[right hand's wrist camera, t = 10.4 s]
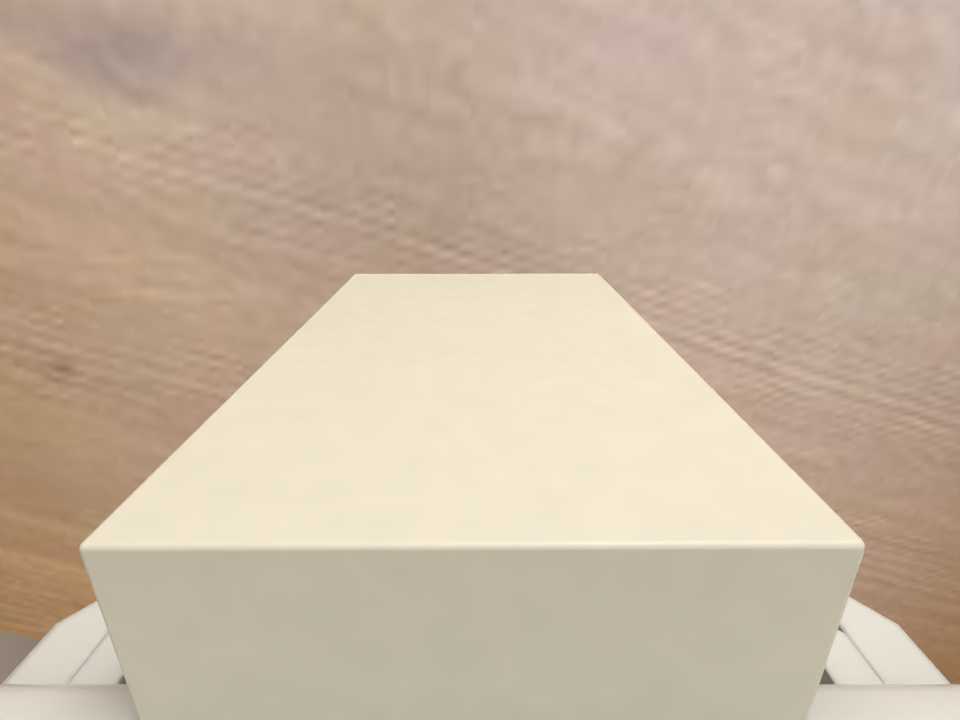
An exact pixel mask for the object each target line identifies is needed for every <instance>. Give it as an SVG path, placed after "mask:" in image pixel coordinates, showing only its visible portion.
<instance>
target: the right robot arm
mask: <svg viewBox="0 0 960 720" xmlns="http://www.w3.org/2000/svg"><path fill="white" fill-rule="evenodd" d="M0 720H139V717H138V714H137V712H136V709H135V706H134V703H133V700H132V698H131V695H130V692H129V689H128V686H127V683H126V681H125V678H124V675H123V672H122V669H121V667H120V664H119V661H118V658H117V655H116V652H115V650H114V647H113V644H112V641H111V638H110V636H109V633H108V630H107V627H106V624H105V622H104V619H103V616H102V613H101V610H100V607H99V605H98V602H97V601H95V602H94V603H92V604H90V605H88V606H87V607H85V608H83V609H81V610H80V611H78V612H76V613H74V614H72V615H71V616H69V617H67V618H65V619H64V620H62V621H60V622H58V623H57V624H55V625H54V627H53V628H52V629H51V630H50V631H49V632H48V633H47V634H46V635H45V636H44V638H43V639H42V640H41V641H40V642H39V643H38V644H37V645H36V646H35V648H34V649H33V650H32V651H31V652H30V653H29V654H28V655H27V656H26V657H25V659H24V660H23V661H22V662H21V663H20V664H19V665H18V666H17V667H16V669H15V670H14V671H13V672H12V673H11V674H10V675H9V676H8V677H7V679H6V680H5V681H4V682H3V683H2V684H0ZM807 720H960V684H950V683H949V682H948V680H947V679H946V678H945V677H944V676H943V675H942V674H941V672H940V671H939V670H938V669H937V668H936V667H935V666H934V665H933V663H932V662H931V661H930V660H929V659H928V658H927V657H926V656H925V654H924V653H923V652H922V651H921V650H920V649H919V648H918V646H917V645H916V644H915V643H914V642H913V641H912V640H911V639H910V637H909V636H908V635H907V634H906V633H905V632H904V631H903V630H902V628H901V627H900V626H899V625H898V624H896V623H894V622H893V621H891V620H889V619H887V618H886V617H884V616H882V615H880V614H879V613H877V612H875V611H873V610H872V609H870V608H868V607H866V606H865V605H863V604H861V603H860V602H858V601H856V600H854V599H853V598H851V597H849V598H848V601H847V604H846V607H845V610H844V613H843V615H842V618H841V621H840V624H839V627H838V630H837V633H836V636H835V639H834V642H833V645H832V648H831V651H830V654H829V657H828V660H827V663H826V666H825V669H824V672H823V675H822V678H821V680H820V683H819V686H818V689H817V692H816V695H815V698H814V701H813V704H812V707H811V710H810V713H809V716H808V719H807Z"/></svg>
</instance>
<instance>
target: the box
mask: <svg viewBox="0 0 960 720" xmlns="http://www.w3.org/2000/svg"><path fill="white" fill-rule="evenodd" d="M864 550H865V544H864V542H863V540H862V539H861V538H860V537H859V536H858V535H857V534H856V533H855V532H854V531H853V530H852V529H851V528H850V527H849V526H848V525H847V524H846V523H845V522H844V521H843V520H842V519H841V518H840V517H839V516H838V515H837V514H836V513H835V512H834V511H833V510H832V509H831V508H830V507H829V506H828V505H827V504H826V503H825V502H824V501H823V500H822V499H821V498H820V497H819V496H818V495H817V494H816V493H815V492H814V491H813V490H812V489H811V488H810V487H809V486H808V485H807V484H806V483H805V482H804V481H803V480H802V479H801V478H800V477H799V476H798V475H797V474H796V473H795V472H794V471H793V470H792V469H791V468H790V467H789V466H788V465H787V464H786V463H785V462H784V461H783V460H782V459H781V458H780V457H779V456H778V455H777V454H776V453H775V452H774V451H773V450H772V449H771V448H770V447H769V446H768V445H767V444H766V443H765V442H764V441H763V440H762V438H761V437H760V436H759V435H758V434H757V433H756V432H755V431H754V430H753V429H752V428H751V427H750V426H749V425H748V424H747V423H746V422H745V421H744V420H743V419H742V418H741V417H740V416H739V415H738V414H737V413H736V412H735V411H734V410H733V409H732V408H731V407H730V406H729V405H728V404H727V403H726V402H725V401H724V400H723V399H722V398H721V397H720V396H719V395H718V394H717V393H716V392H715V391H714V390H713V389H712V388H711V387H710V386H709V385H708V384H707V383H706V382H705V381H704V380H703V379H702V378H701V377H700V376H699V375H698V374H697V373H696V372H695V371H694V370H693V369H692V368H691V367H690V366H689V365H688V364H687V363H686V362H685V361H684V360H683V359H682V358H681V357H680V356H679V355H678V354H677V353H676V352H675V351H674V350H673V349H672V348H671V347H670V346H669V345H668V344H667V343H666V342H665V341H664V340H663V339H662V338H661V337H660V336H659V335H658V334H657V333H656V332H655V331H654V330H653V329H652V328H651V327H650V326H649V325H648V324H647V323H646V322H645V320H644V319H643V318H642V317H641V316H640V315H639V314H638V313H637V312H636V311H635V310H634V309H633V308H632V307H631V306H630V305H629V304H628V303H627V302H626V301H625V300H624V299H623V298H622V297H621V296H620V295H619V294H618V293H617V292H616V291H615V290H614V289H613V288H612V287H611V286H610V285H609V284H608V283H607V282H606V281H605V280H604V279H603V278H602V277H601V276H600V275H599V274H355V275H354V276H353V277H352V278H351V279H350V280H349V281H348V282H347V283H346V284H345V285H344V286H343V287H342V288H341V289H340V290H338V291H337V292H336V293H335V294H334V295H333V296H332V297H331V298H330V299H329V300H328V301H327V302H326V303H325V304H324V305H323V306H322V307H321V308H320V309H319V310H318V311H317V312H316V313H315V314H314V315H313V316H312V317H311V318H310V319H309V320H308V321H307V322H306V323H305V324H304V325H303V326H302V327H301V328H300V329H299V330H298V331H297V332H296V333H295V334H294V335H293V336H292V337H291V338H290V339H289V340H288V341H287V342H286V343H285V344H284V345H283V346H282V347H280V348H279V349H278V350H277V351H276V352H275V353H274V354H273V355H272V356H271V357H270V358H269V359H268V360H267V361H266V362H265V363H264V364H263V365H262V366H261V367H260V368H259V369H258V370H257V371H256V372H255V373H254V374H253V375H252V376H251V377H250V378H249V379H248V380H247V381H246V382H245V383H244V384H243V385H242V386H241V387H240V388H239V389H238V390H237V391H236V392H235V393H234V394H233V395H232V396H231V397H230V398H229V399H228V400H227V401H226V402H225V403H224V404H222V405H221V406H220V407H219V408H218V409H217V410H216V411H215V412H214V413H213V414H212V415H211V416H210V417H209V418H208V419H207V420H206V421H205V422H204V423H203V424H202V425H201V426H200V427H199V428H198V429H197V430H196V431H195V432H194V433H193V434H192V435H191V436H190V437H189V438H188V439H187V440H186V441H185V442H184V443H183V444H182V445H181V446H180V447H179V448H178V449H177V450H176V451H175V452H174V453H173V454H172V455H171V456H170V457H169V458H168V459H167V460H166V461H164V462H163V463H162V464H161V465H160V466H159V467H158V468H157V469H156V470H155V471H154V472H153V473H152V474H151V475H150V476H149V477H148V478H147V479H146V480H145V481H144V482H143V483H142V484H141V485H140V486H139V487H138V488H137V489H136V490H135V491H134V492H133V493H132V494H131V495H130V496H129V497H128V498H127V499H126V500H125V501H124V502H123V503H122V504H121V505H120V506H119V507H118V508H117V509H116V510H115V511H114V512H113V513H112V514H111V515H110V516H109V517H108V518H107V519H105V520H104V521H103V522H102V523H101V524H100V525H99V526H98V527H97V528H96V529H95V530H94V531H93V532H92V533H91V534H90V535H89V536H88V537H87V538H86V539H85V540H84V541H83V542H82V543H81V545H80V550H79V551H80V554H81V557H82V560H83V562H84V565H85V568H86V571H87V574H88V577H89V579H90V582H91V585H92V588H93V591H94V593H95V596H96V599H97V602H98V605H99V607H100V610H101V613H102V616H103V619H104V622H105V624H106V627H107V630H108V633H109V636H110V638H111V641H112V644H113V647H114V650H115V652H116V655H117V658H118V661H119V664H120V667H121V669H122V672H123V675H124V678H125V681H126V683H127V686H128V689H129V692H130V695H131V698H132V700H133V703H134V706H135V709H136V712H137V714H138V717H139V720H807V719H808V716H809V713H810V710H811V707H812V704H813V701H814V698H815V695H816V692H817V689H818V686H819V683H820V680H821V678H822V675H823V672H824V669H825V666H826V663H827V660H828V657H829V654H830V651H831V648H832V645H833V642H834V639H835V636H836V633H837V630H838V627H839V624H840V621H841V618H842V615H843V613H844V610H845V607H846V604H847V601H848V598H849V595H850V592H851V589H852V586H853V583H854V580H855V577H856V574H857V571H858V568H859V565H860V562H861V559H862V556H863V553H864Z"/></svg>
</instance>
